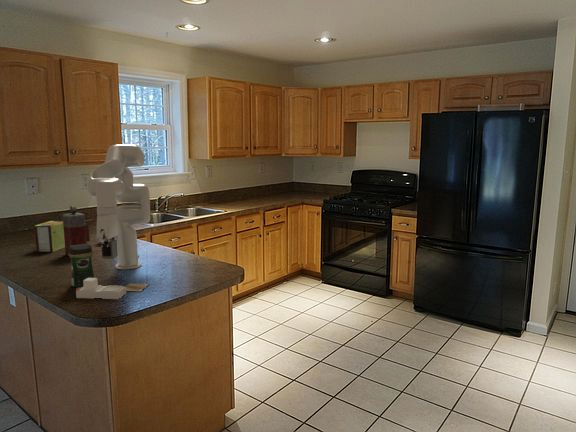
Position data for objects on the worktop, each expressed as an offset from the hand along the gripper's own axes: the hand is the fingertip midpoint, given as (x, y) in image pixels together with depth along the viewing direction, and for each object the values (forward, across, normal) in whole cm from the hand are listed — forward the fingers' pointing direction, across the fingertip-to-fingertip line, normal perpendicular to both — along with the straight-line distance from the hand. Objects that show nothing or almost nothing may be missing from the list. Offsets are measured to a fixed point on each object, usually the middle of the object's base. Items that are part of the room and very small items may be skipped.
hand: (109, 254), depth 181 cm
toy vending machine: (+19, -64, -49) cm, 83 cm away
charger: (+1, 0, 0) cm, 1 cm away
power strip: (+18, 0, -4) cm, 19 cm away
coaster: (+18, -10, +6) cm, 21 cm away
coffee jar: (+18, -13, -19) cm, 30 cm away
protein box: (+19, -75, -71) cm, 105 cm away
